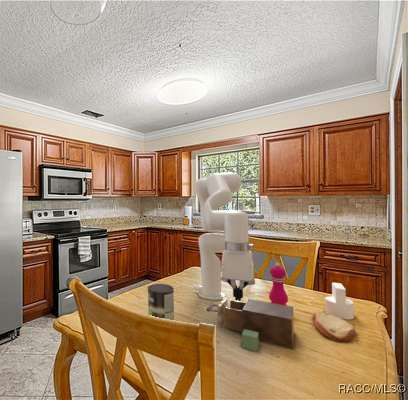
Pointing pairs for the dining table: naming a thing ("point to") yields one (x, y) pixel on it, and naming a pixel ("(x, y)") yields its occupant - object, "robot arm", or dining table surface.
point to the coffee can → (161, 301)
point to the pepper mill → (278, 285)
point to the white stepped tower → (339, 303)
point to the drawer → (229, 314)
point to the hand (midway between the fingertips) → (238, 299)
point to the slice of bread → (334, 327)
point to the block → (250, 340)
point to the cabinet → (270, 322)
